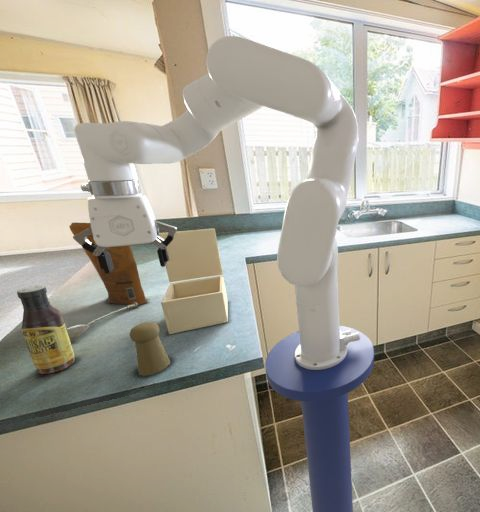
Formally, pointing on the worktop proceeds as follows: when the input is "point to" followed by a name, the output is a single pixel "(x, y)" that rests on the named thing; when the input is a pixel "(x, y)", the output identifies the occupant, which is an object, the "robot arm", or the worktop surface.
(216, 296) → the cream open box
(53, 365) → the sauce bottle
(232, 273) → the worktop surface
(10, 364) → the worktop surface
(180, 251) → the lid
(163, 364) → the cork
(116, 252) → the pancake mix bag
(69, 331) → the soupspoon
